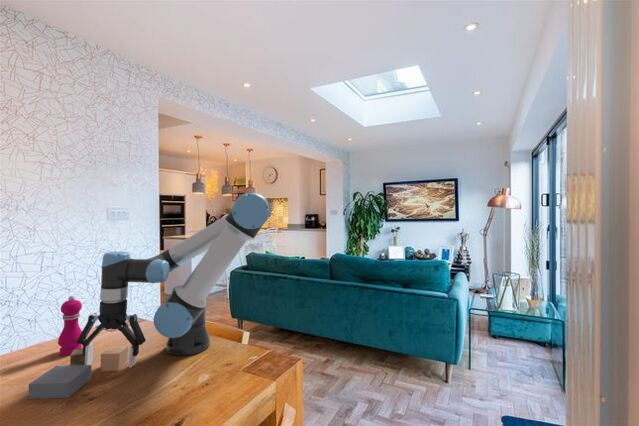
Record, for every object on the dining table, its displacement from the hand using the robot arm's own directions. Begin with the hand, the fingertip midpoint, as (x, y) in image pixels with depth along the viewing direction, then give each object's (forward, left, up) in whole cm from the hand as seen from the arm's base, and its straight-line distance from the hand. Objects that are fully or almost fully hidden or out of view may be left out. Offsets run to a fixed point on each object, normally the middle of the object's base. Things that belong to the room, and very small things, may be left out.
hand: (110, 365), depth 103 cm
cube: (-1, 0, -1) cm, 1 cm away
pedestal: (+7, +12, 0) cm, 14 cm away
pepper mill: (+20, -12, -1) cm, 23 cm away
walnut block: (+10, -2, -1) cm, 11 cm away
